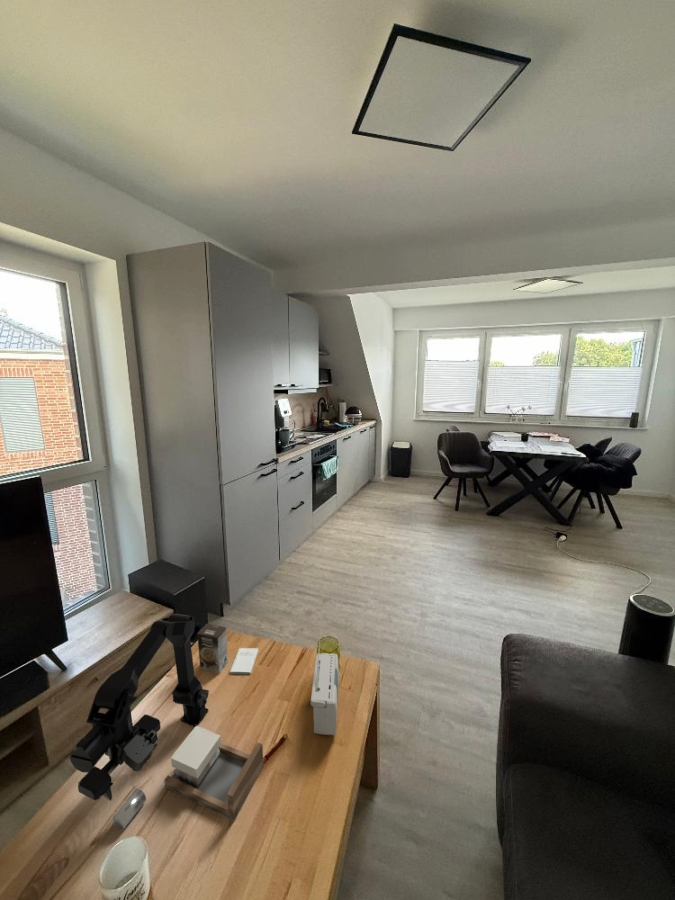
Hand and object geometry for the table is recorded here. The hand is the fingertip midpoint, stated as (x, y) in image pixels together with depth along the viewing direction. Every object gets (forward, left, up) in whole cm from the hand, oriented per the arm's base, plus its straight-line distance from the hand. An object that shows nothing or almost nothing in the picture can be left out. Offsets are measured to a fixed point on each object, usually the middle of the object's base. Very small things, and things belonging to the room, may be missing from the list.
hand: (126, 779), depth 91 cm
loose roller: (0, 0, -11) cm, 11 cm away
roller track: (+15, +15, -11) cm, 24 cm away
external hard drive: (-2, +54, -12) cm, 55 cm away
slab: (+9, +15, -6) cm, 18 cm away
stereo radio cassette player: (+36, +46, -11) cm, 60 cm away
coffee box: (-12, +48, -11) cm, 51 cm away
